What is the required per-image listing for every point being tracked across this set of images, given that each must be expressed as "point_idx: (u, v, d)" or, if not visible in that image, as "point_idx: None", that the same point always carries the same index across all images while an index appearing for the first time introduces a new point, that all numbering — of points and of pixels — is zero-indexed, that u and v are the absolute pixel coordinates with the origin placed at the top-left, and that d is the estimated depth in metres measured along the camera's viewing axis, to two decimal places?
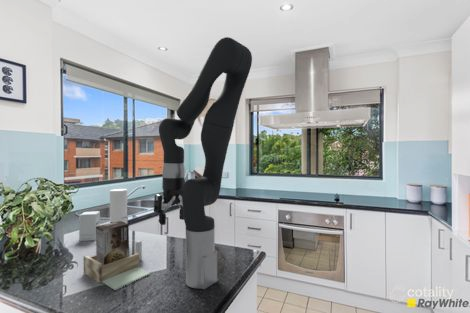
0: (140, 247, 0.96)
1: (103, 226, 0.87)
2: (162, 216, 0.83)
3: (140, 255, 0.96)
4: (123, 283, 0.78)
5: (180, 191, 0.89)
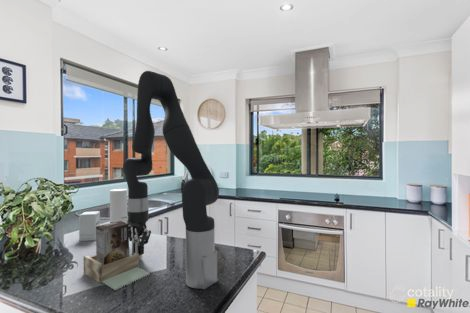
0: None
1: (103, 226, 0.87)
2: None
3: (140, 255, 0.96)
4: (123, 283, 0.78)
5: None
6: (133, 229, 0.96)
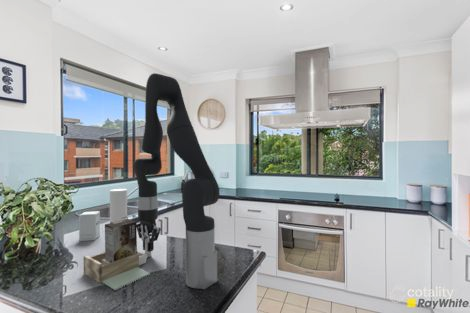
0: None
1: (112, 224, 0.89)
2: None
3: None
4: (123, 283, 0.78)
5: None
6: (143, 226, 0.99)
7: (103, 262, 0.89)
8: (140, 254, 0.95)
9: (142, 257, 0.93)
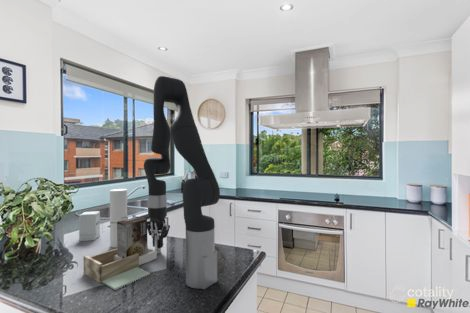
0: None
1: (124, 221, 0.93)
2: None
3: (159, 248, 1.03)
4: (123, 283, 0.78)
5: None
6: (153, 224, 1.03)
7: (115, 258, 0.92)
8: (150, 250, 0.99)
9: (152, 253, 0.96)
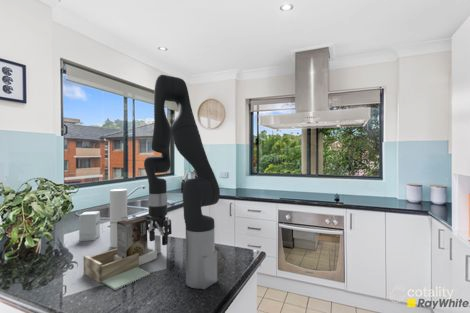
0: (159, 241, 1.03)
1: (124, 221, 0.93)
2: None
3: (159, 248, 1.03)
4: (123, 283, 0.78)
5: None
6: (153, 223, 1.03)
7: (115, 258, 0.92)
8: (150, 250, 0.99)
9: (152, 253, 0.96)
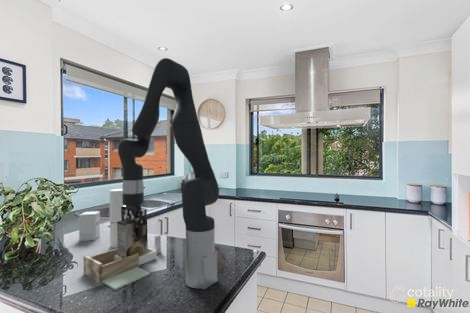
0: (159, 241, 1.03)
1: (124, 221, 0.93)
2: None
3: (159, 248, 1.03)
4: (123, 283, 0.78)
5: None
6: (128, 212, 0.94)
7: (115, 258, 0.92)
8: (150, 250, 0.99)
9: (152, 253, 0.96)
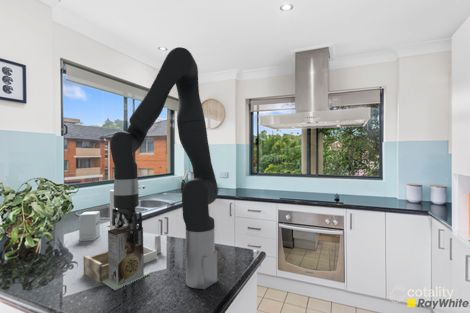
0: (159, 241, 1.03)
1: (116, 230, 0.80)
2: None
3: (159, 248, 1.03)
4: (123, 283, 0.78)
5: None
6: (120, 216, 0.81)
7: None
8: (150, 250, 0.99)
9: (152, 253, 0.96)
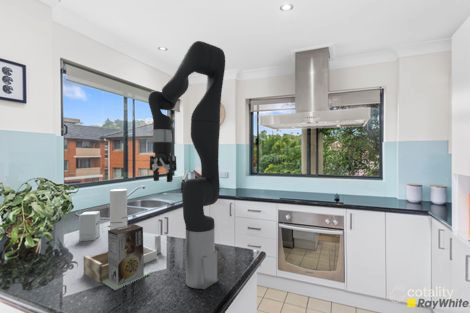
0: (159, 241, 1.03)
1: (116, 230, 0.80)
2: None
3: (159, 248, 1.03)
4: (123, 283, 0.78)
5: None
6: (157, 160, 1.00)
7: None
8: (150, 250, 0.99)
9: (152, 253, 0.96)
